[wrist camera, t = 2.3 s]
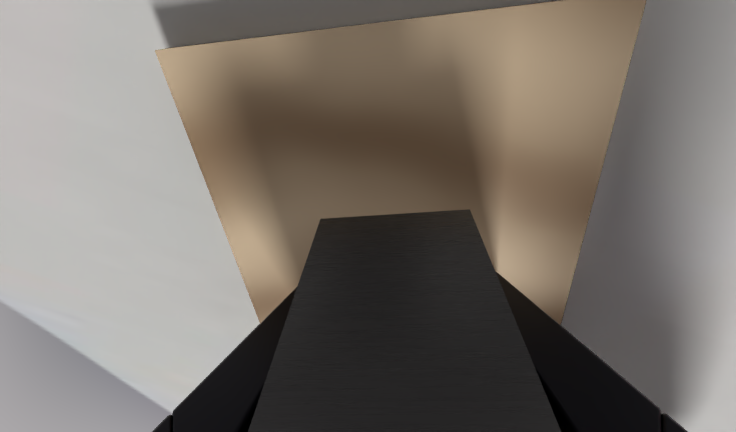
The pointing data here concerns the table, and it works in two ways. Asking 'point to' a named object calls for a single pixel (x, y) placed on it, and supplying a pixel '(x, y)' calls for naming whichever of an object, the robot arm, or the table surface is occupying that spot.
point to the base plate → (411, 132)
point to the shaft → (401, 335)
